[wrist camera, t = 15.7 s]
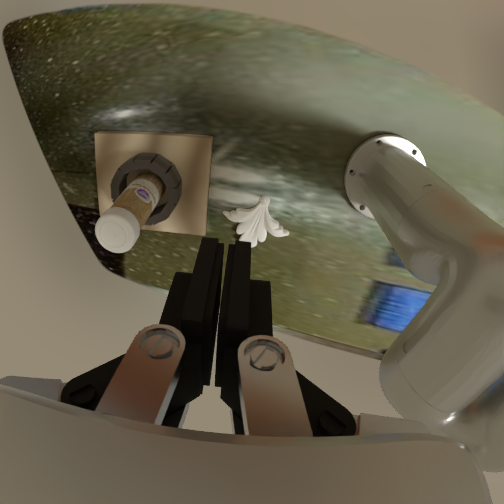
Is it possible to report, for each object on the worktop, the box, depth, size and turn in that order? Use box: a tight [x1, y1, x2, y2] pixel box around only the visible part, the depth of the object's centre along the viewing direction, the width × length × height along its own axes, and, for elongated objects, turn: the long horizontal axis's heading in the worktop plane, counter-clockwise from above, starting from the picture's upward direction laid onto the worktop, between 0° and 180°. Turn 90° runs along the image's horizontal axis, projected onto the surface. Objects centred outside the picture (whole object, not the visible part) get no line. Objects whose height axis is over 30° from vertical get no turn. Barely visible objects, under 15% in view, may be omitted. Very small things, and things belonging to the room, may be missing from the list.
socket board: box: [95, 131, 213, 236], centre depth 41 cm, size 16×14×4 cm
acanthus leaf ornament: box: [222, 196, 289, 247], centre depth 46 cm, size 8×7×2 cm
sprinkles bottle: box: [95, 170, 166, 253], centre depth 36 cm, size 5×5×14 cm
